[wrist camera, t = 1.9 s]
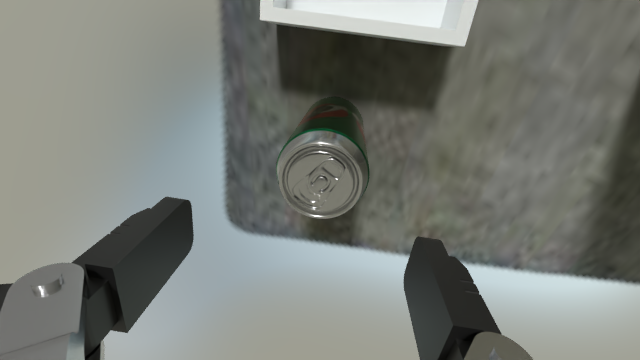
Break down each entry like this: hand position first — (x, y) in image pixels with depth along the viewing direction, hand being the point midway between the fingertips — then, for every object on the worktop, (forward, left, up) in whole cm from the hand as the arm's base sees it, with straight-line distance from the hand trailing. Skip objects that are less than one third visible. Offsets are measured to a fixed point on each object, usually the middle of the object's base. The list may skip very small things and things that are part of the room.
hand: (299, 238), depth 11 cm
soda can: (0, 0, -17) cm, 17 cm away
